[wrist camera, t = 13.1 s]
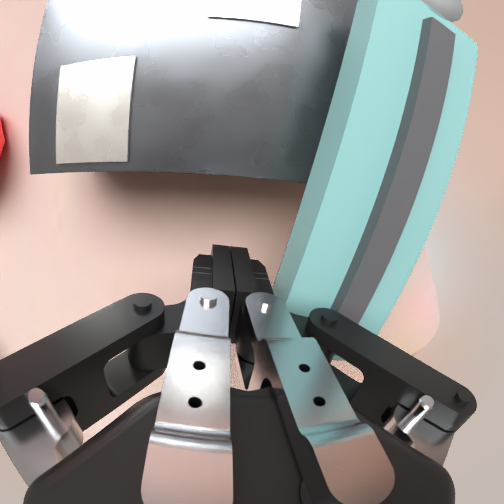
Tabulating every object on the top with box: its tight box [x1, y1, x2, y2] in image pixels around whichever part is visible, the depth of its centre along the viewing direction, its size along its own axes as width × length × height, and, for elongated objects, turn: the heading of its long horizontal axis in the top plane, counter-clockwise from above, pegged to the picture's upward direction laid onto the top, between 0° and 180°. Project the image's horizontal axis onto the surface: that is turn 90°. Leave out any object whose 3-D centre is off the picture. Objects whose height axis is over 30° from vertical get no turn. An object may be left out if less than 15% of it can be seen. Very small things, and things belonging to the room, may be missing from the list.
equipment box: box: [29, 0, 358, 183], centre depth 12 cm, size 16×19×10 cm
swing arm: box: [272, 0, 478, 360], centre depth 9 cm, size 18×5×3 cm, turn 166°
